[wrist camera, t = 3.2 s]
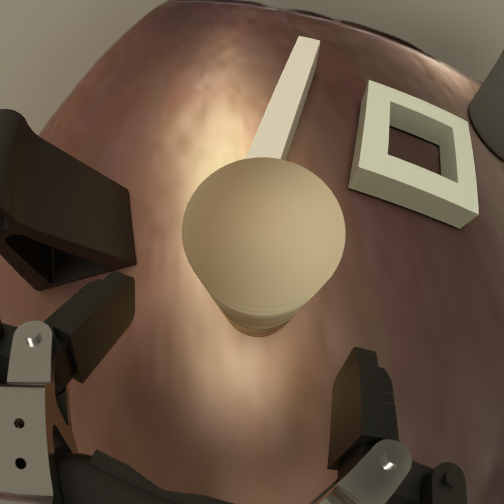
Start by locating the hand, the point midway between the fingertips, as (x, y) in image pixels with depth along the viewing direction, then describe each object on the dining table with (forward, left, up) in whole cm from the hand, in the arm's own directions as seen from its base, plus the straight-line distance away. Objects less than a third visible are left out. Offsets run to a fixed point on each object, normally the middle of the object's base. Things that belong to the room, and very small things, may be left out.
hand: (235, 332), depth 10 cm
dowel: (0, -3, -9) cm, 9 cm away
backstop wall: (+2, -18, -9) cm, 20 cm away
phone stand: (+14, -3, -9) cm, 17 cm away
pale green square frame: (-9, -18, -9) cm, 22 cm away
